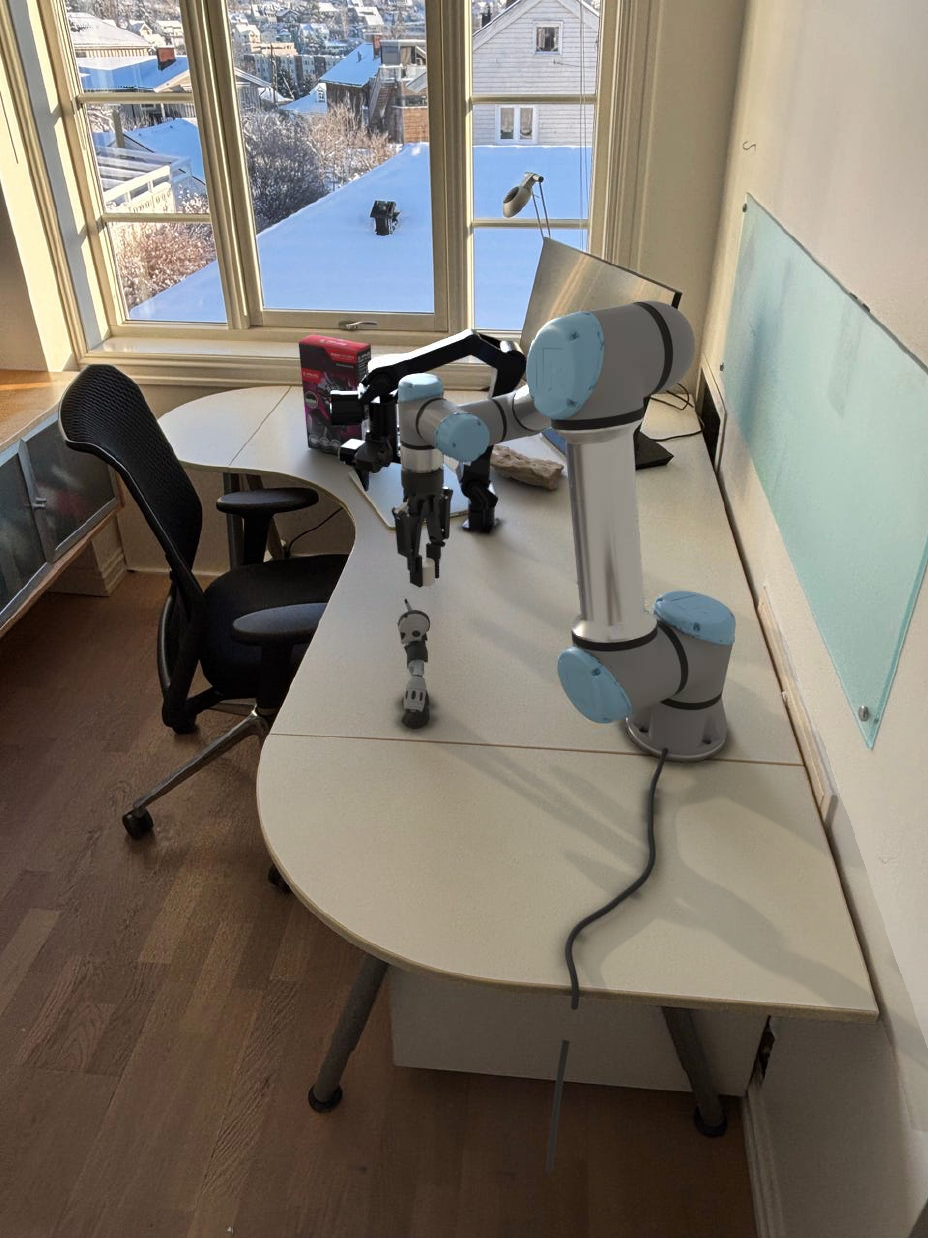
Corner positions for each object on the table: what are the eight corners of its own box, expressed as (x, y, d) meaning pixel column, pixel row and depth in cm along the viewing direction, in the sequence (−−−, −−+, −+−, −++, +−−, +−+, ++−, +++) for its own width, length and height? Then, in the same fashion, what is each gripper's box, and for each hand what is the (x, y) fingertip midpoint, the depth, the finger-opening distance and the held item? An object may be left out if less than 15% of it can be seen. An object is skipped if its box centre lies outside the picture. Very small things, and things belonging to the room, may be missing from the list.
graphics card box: (305, 448, 231) (295, 340, 216) (321, 439, 236) (312, 332, 221) (363, 462, 225) (356, 351, 209) (378, 452, 230) (373, 343, 215)
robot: (432, 752, 138) (431, 644, 127) (400, 753, 138) (395, 645, 127) (430, 673, 154) (428, 571, 143) (401, 674, 154) (397, 571, 143)
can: (437, 577, 174) (436, 558, 172) (432, 587, 171) (431, 568, 169) (418, 575, 175) (417, 556, 173) (413, 585, 172) (412, 566, 170)
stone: (462, 471, 213) (468, 446, 211) (478, 460, 226) (484, 436, 224) (548, 498, 210) (555, 473, 207) (560, 485, 223) (567, 461, 221)
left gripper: (321, 430, 180) (327, 502, 189) (407, 446, 174) (409, 519, 183) (349, 411, 189) (353, 480, 197) (432, 425, 183) (433, 496, 191)
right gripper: (440, 445, 167) (441, 557, 180) (371, 473, 157) (378, 589, 170) (470, 456, 163) (469, 570, 176) (402, 486, 153) (406, 605, 166)
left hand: (386, 494), depth 192 cm, fingers open, 9 cm apart
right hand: (424, 579), depth 173 cm, fingers closed on can, 4 cm apart
